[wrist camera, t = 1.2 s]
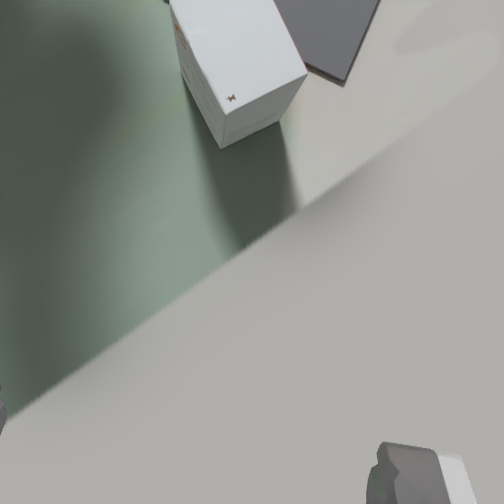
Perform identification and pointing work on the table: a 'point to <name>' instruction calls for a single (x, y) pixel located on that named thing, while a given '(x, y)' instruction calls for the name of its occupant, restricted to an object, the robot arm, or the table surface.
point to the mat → (327, 31)
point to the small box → (237, 63)
